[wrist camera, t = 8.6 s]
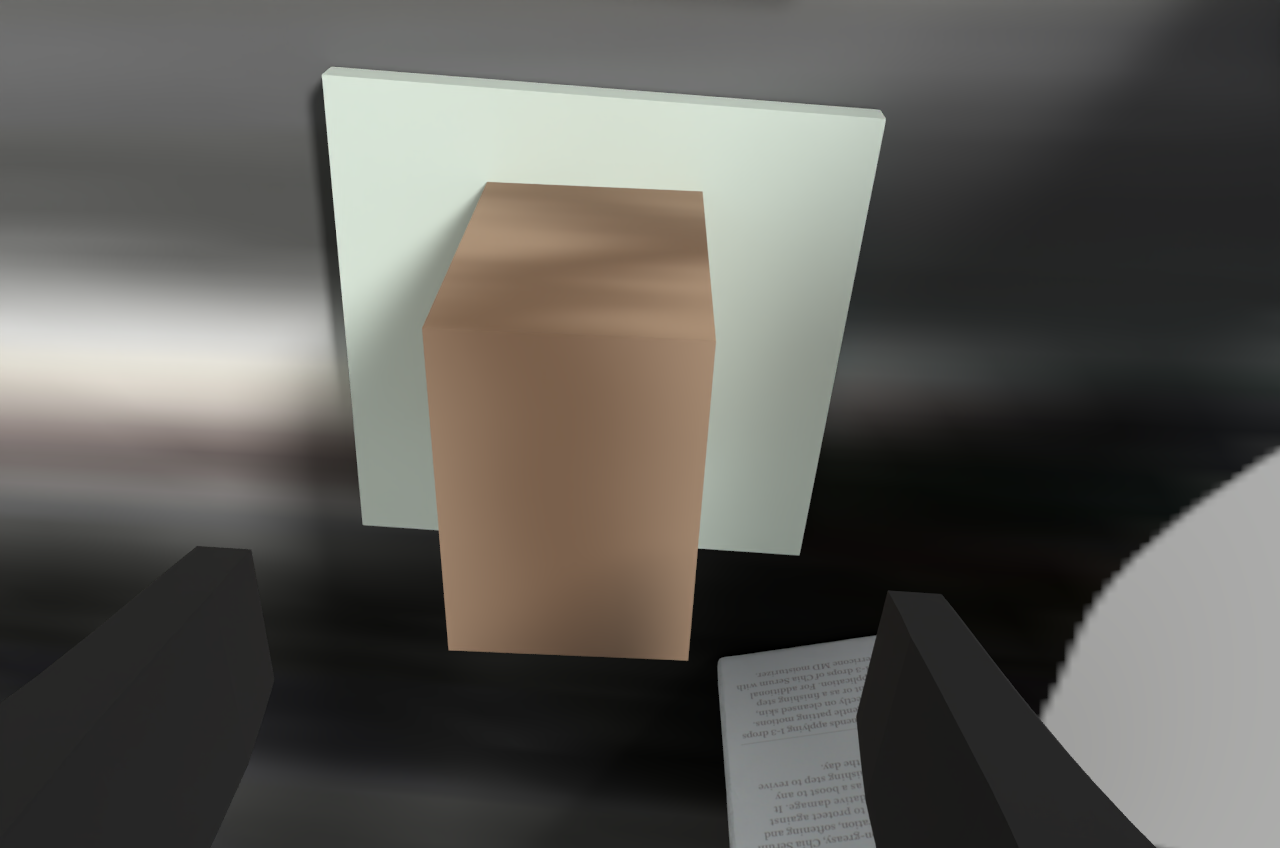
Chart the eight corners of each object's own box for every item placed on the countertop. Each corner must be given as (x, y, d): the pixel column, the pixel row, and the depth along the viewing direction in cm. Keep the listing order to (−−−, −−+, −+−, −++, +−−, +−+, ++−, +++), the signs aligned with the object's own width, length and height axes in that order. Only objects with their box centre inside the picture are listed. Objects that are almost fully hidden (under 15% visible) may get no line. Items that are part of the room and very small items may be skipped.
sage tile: (879, 109, 19) (886, 119, 18) (796, 539, 24) (799, 555, 24) (331, 66, 19) (322, 74, 18) (369, 509, 24) (362, 525, 23)
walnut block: (702, 190, 19) (715, 340, 14) (682, 459, 22) (687, 660, 17) (487, 181, 19) (422, 328, 14) (498, 451, 22) (448, 649, 17)
